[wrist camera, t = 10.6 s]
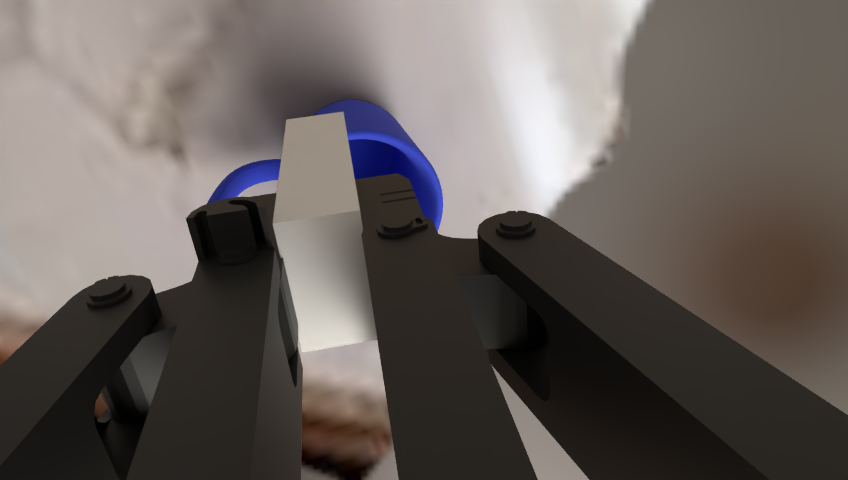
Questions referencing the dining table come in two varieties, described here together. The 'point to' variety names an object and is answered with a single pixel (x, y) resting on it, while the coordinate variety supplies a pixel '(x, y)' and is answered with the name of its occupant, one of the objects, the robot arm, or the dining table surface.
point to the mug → (360, 157)
